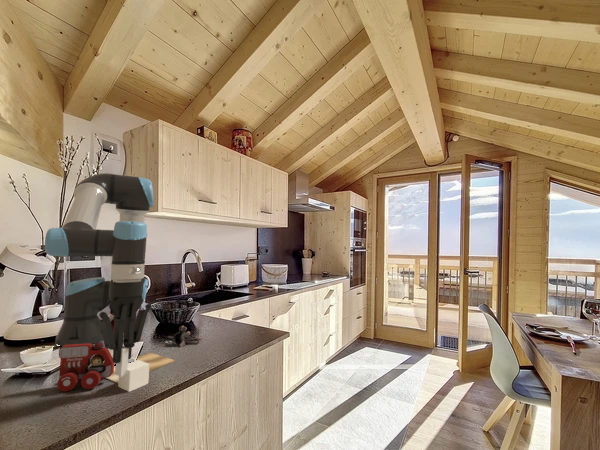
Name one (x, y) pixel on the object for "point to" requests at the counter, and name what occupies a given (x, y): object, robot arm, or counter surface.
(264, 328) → the counter surface
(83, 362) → the toy fire truck
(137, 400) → the counter surface
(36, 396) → the counter surface
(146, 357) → the board
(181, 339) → the stuffed animal
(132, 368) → the cream white cube
